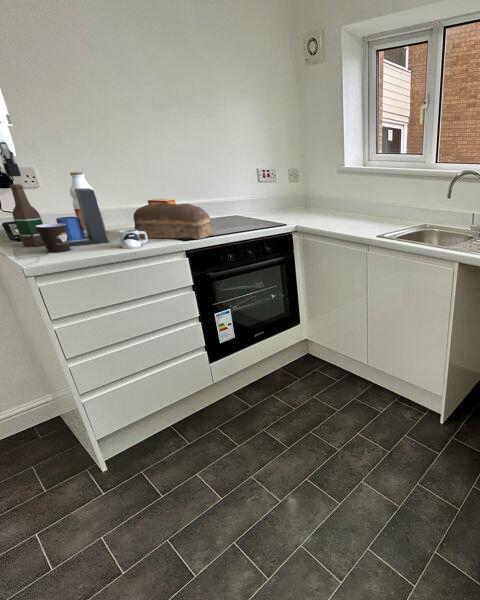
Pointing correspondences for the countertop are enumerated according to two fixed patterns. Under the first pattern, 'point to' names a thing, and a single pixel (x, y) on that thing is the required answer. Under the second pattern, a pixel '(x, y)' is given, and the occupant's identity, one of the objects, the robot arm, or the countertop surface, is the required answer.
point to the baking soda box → (161, 201)
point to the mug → (131, 238)
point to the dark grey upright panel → (90, 218)
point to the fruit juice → (77, 183)
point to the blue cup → (72, 227)
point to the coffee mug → (53, 237)
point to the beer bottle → (25, 217)
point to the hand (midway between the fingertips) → (13, 175)
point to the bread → (172, 221)
